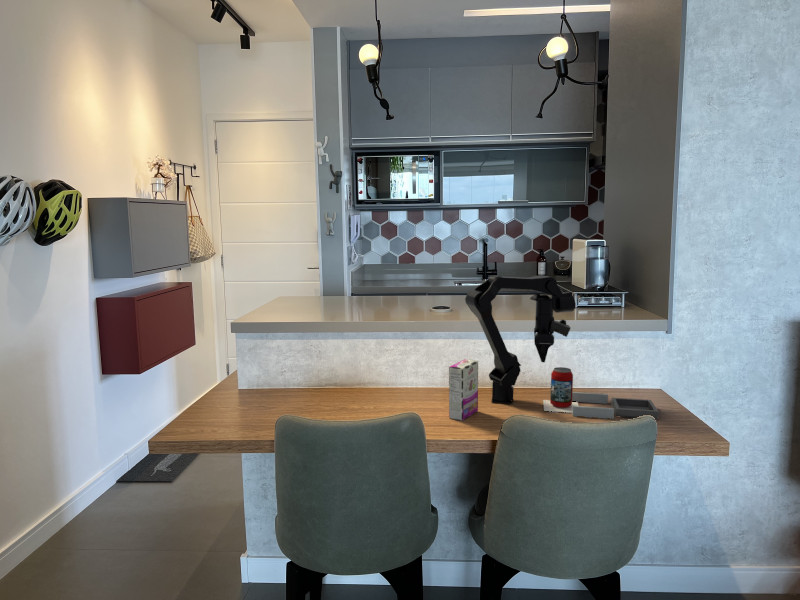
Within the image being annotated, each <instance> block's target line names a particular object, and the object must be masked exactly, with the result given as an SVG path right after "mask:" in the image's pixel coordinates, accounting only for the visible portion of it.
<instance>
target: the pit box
mask: <svg viewBox="0 0 800 600" xmlns="http://www.w3.org/2000/svg"><path fill="white" fill-rule="evenodd" d="M610 405H611V408H614V416H615V417H616V416H620V417H619V418H626V417H628V418H630V419H634V418H633V417H639V416H643V415H651V416H653V417H654V418H655V419H654V420H659V410H658V409H657V407H656V406H655V404H654V402H653V401H652V399H643V398H626V397H625V398H624V397H611V403H610Z"/></svg>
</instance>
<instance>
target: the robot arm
mask: <svg viewBox="0 0 800 600" xmlns="http://www.w3.org/2000/svg"><path fill="white" fill-rule="evenodd" d="M502 289H504V290H505V289H507V290H508V289H509V290H529V291H533V292H535V293H534V294H533V295H532V296H531V297H530V298H529V299H530V300H531V301H535V318H534V319H535V323H534V327H535V328H534V327H533V334H534V337H533V338H534V342H533V343H534V346H535V348H536V350H537V353H538V356H539V359H540V361H541V363H545V362H546V359H547V356H548V351H549V349H550V348H551V347H552V346H553V345H554V344H555V335H554V333H557V334H560V335H561V336H563V337H566V338H567V337H568V336H569V332H570V331H571V326H570V325H569V324H567V320H565V319H560V320H555V317H554V312H555V313H569V312H573V311H574V310H575V309H576V306H577V305H576V300H575V298H574V296H573V292H572V291H564V292H563V291H562V290H561V289H560V287H559V285H558V281H557V280H556V278H555V277H554V276H553V277H552V276H548V275H542V274H541V275H533V276H531V277H517V276H498V275H491V276H489V277H488V278H487V279H486V280H485V281H483V282H482V283H480V284H479V285H477V286H476V287H475V288H473V289H472V290H470V291H468V292H467V294H466V295H465V298H464V300H465V304H466V306H467V307H468V309H469V310H470V311H471V312H472V314H473V315H474V316H475V317H476V318H477V319H478V322H479V324H480V326H481V328H482V331H483V333H484V335H485V337H486V339H487V342H488V344H489V346H490V349H491V352H492V353H493V356H494V357H493V364H494V368H493V369H492V370H491V371H490V373H488V377H489V380H490V381H492V384H491V386H492V390H491V392H492V393H491V395H492V397H491V403H494V404H509V405H511V404H512V401H513V402H514V392H515V391H514V390H515V388H514V386H515V385H516V383H517V379H518V377H519V375H520V373H521V372H522V371H521V366H522V364H521V363H520V362H519V359H518V356H517V355H516V354H515V353H513V352H510V351H508V348H507V347H506V346H507V345H506V343H505V342H504V339H503V337H502V335H501V333H500V330H499V328H498V325H497V323H496V321H495V319H494V316H493V304H492V301H493V300H495V299H496V297H497V296H498V293H499V291H500V290H502ZM540 293H542V294H540Z"/></svg>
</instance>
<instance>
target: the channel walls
mask: <svg viewBox="0 0 800 600" xmlns="http://www.w3.org/2000/svg"><path fill="white" fill-rule="evenodd" d="M608 400H609V394H608V393H603V392H602V393H599V392H583V391H582V392H580V391H572V401H576V402H578V403H586V404H587V403H590V404H606V405H607V404H608V403H609V401H608ZM572 416H573V417H577V416H585V417H584V418H592V417H598V418H597V419H607V418H610V419H609V420H614V419H615V413H614V408H612V407H603V406H602V407H601V406H599V407H598V406H585V405H579V406H573V413H572ZM611 418H612V419H611Z"/></svg>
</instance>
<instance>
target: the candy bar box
mask: <svg viewBox="0 0 800 600" xmlns="http://www.w3.org/2000/svg"><path fill="white" fill-rule="evenodd" d="M448 393H449V394H448V400H449V401H448V414H449V415H448V417H449V419H451V420H455V421H459V422H460V421H462V422H463V421H465V420H467V419H468V418H469V417H471V416H473V415H474V414H475V413H476V412H478V411H479V360H475V359H468V358H466V359H465V358H464V359H463V360H461V361H458V362H457V363H454V364H452V365H450V366H448Z"/></svg>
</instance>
